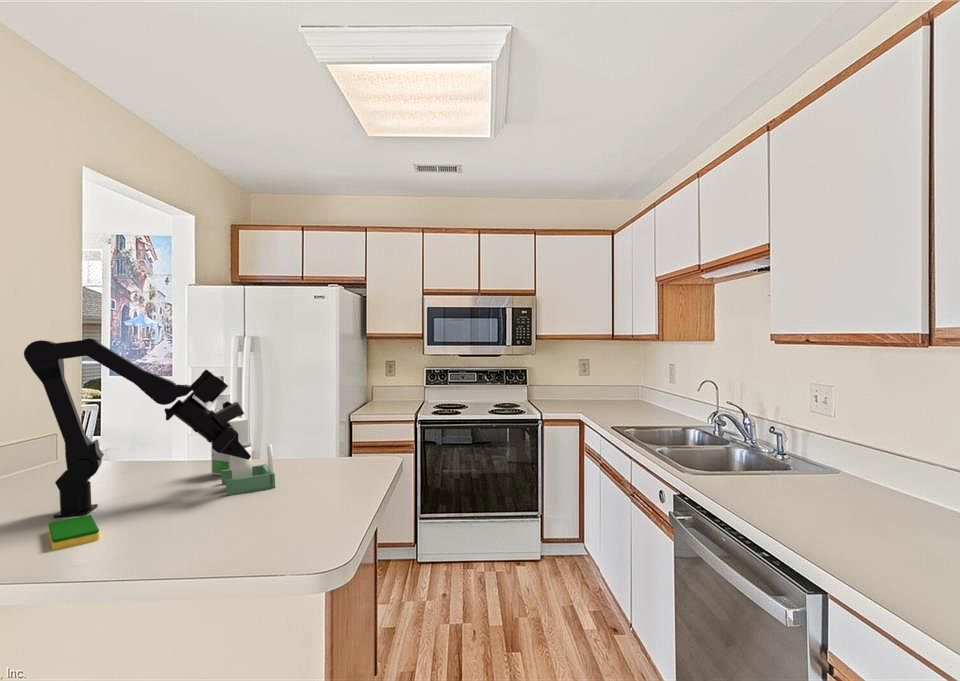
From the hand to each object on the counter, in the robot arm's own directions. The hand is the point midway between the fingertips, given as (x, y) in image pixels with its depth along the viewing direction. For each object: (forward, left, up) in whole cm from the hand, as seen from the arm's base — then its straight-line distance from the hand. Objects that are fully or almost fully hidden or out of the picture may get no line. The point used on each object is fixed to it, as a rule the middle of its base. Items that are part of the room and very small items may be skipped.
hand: (247, 455), depth 142 cm
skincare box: (+17, +7, -8) cm, 20 cm away
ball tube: (0, +1, -8) cm, 8 cm away
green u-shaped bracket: (0, 0, -8) cm, 8 cm away
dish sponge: (-27, +28, -8) cm, 40 cm away
